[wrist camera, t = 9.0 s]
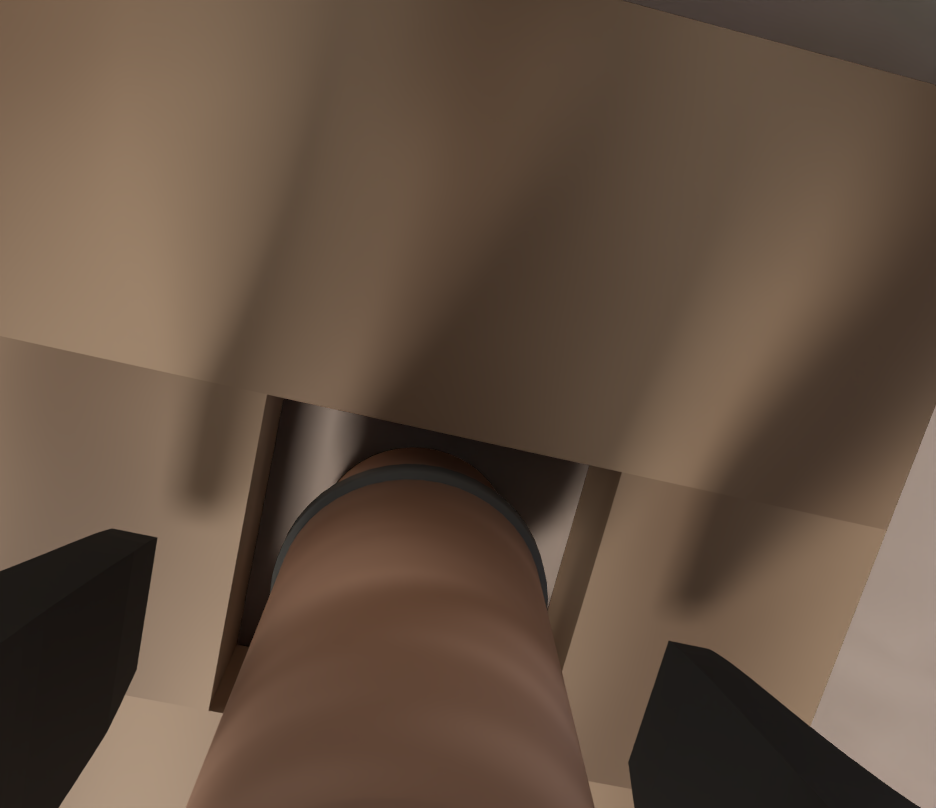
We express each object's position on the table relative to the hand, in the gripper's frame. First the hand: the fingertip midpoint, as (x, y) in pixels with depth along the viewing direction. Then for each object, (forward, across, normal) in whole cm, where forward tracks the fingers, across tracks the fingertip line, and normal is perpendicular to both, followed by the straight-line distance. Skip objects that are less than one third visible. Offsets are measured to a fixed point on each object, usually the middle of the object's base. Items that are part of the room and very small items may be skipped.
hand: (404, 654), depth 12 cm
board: (+4, 0, 0) cm, 4 cm away
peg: (+4, 0, 0) cm, 4 cm away
